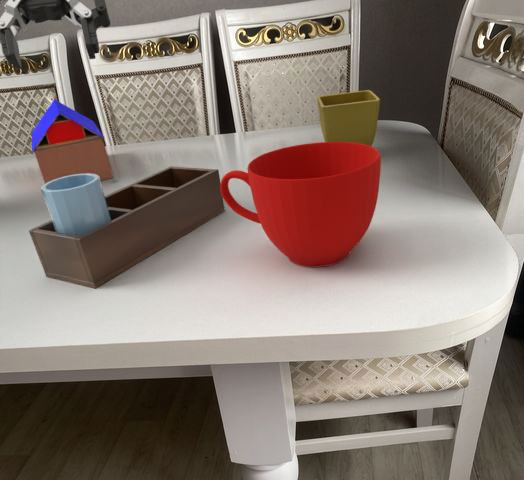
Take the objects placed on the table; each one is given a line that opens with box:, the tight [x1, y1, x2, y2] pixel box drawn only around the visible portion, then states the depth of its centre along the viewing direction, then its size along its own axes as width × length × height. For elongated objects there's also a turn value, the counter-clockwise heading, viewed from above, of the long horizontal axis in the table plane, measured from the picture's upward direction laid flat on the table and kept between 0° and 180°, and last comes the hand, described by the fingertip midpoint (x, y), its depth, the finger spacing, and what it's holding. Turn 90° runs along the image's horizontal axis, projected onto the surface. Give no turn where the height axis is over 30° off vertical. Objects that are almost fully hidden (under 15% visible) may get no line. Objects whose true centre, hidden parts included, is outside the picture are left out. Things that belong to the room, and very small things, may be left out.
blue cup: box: [40, 173, 112, 236], centre depth 58 cm, size 6×6×9 cm
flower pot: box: [316, 89, 381, 147], centre depth 84 cm, size 9×9×9 cm
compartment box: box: [28, 165, 226, 289], centre depth 64 cm, size 8×24×6 cm, turn 147°
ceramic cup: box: [220, 141, 382, 268], centre depth 55 cm, size 13×17×10 cm
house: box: [31, 98, 114, 184], centre depth 96 cm, size 12×20×12 cm, turn 21°
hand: (53, 58), depth 61 cm, fingers open, 8 cm apart
